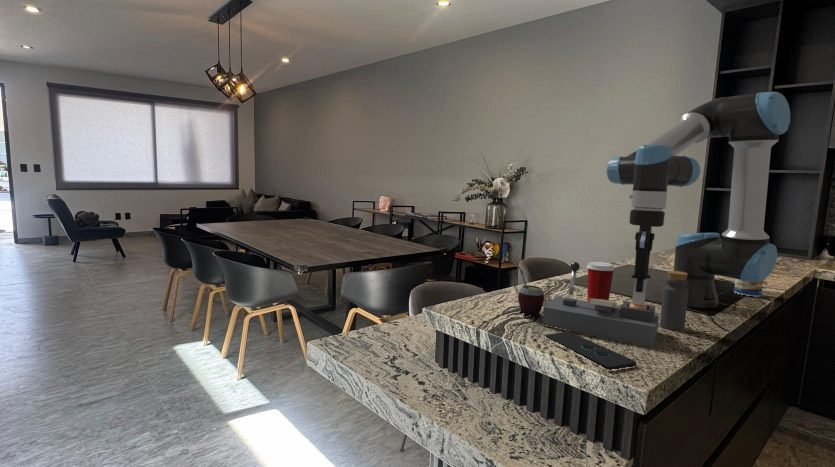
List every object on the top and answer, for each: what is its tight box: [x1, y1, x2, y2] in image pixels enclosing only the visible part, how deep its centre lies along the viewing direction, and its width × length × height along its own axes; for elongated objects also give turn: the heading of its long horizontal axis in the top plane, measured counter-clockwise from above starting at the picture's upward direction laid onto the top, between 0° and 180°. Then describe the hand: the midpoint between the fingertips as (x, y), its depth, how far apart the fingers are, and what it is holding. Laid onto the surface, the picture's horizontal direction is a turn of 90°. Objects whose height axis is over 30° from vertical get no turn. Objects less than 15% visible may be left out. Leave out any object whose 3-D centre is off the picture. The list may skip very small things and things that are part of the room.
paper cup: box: [586, 261, 615, 302], centre depth 137 cm, size 8×8×14 cm
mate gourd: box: [512, 262, 545, 318], centre depth 129 cm, size 8×8×15 cm
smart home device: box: [544, 331, 637, 370], centre depth 103 cm, size 8×2×20 cm
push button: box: [629, 303, 648, 310], centre depth 115 cm, size 4×4×2 cm
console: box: [542, 296, 660, 349], centre depth 119 cm, size 14×26×8 cm, turn 59°
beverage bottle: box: [733, 279, 764, 298], centre depth 165 cm, size 8×8×20 cm
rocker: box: [590, 299, 618, 307], centre depth 119 cm, size 10×5×1 cm, turn 149°
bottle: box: [659, 270, 688, 331], centre depth 123 cm, size 6×6×15 cm
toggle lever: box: [568, 261, 581, 296], centre depth 124 cm, size 2×2×9 cm
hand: (638, 303), depth 114 cm, fingers closed
